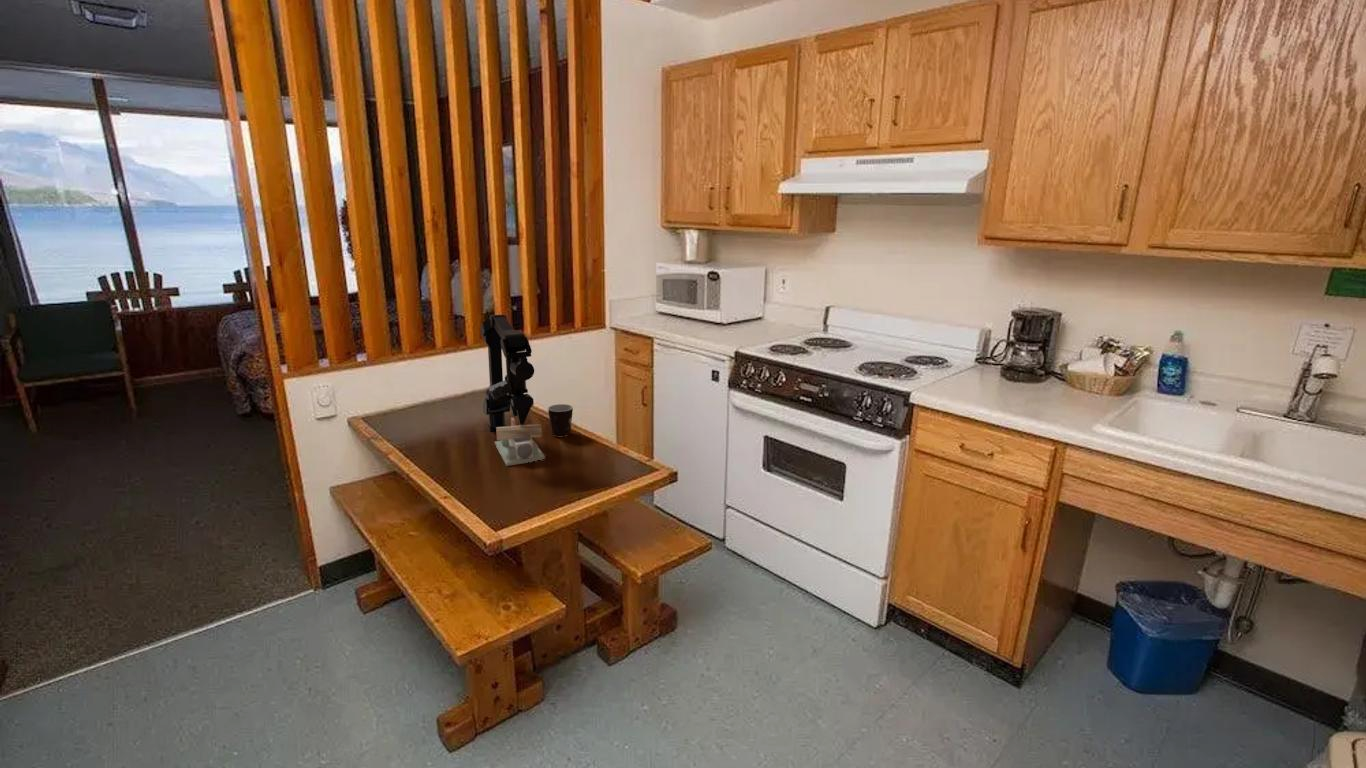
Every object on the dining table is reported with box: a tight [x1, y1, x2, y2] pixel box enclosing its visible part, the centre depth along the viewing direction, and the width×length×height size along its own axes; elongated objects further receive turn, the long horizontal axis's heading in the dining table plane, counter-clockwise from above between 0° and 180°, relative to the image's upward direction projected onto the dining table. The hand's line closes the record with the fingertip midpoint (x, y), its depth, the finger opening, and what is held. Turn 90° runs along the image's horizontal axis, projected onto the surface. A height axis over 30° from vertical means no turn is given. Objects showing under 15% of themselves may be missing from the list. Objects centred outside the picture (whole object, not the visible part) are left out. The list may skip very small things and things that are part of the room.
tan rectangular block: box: [495, 423, 543, 441], centre depth 197 cm, size 4×14×3 cm, turn 106°
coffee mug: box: [547, 403, 574, 436], centre depth 215 cm, size 12×9×10 cm
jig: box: [494, 417, 546, 467], centre depth 199 cm, size 21×12×9 cm, turn 27°
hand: (518, 420), depth 196 cm, fingers open, 9 cm apart
